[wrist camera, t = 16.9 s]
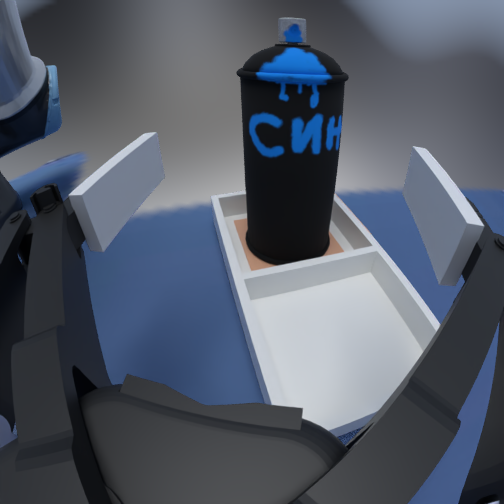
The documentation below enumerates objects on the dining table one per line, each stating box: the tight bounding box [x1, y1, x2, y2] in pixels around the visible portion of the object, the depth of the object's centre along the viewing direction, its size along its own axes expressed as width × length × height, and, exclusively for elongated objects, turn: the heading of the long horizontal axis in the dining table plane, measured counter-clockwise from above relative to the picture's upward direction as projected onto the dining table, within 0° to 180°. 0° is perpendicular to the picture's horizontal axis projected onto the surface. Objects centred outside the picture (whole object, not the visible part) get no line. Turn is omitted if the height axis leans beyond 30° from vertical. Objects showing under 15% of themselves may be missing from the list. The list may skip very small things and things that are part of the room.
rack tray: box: [211, 191, 440, 437], centre depth 24 cm, size 25×13×4 cm, turn 14°
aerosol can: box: [237, 18, 348, 265], centre depth 22 cm, size 8×8×20 cm
